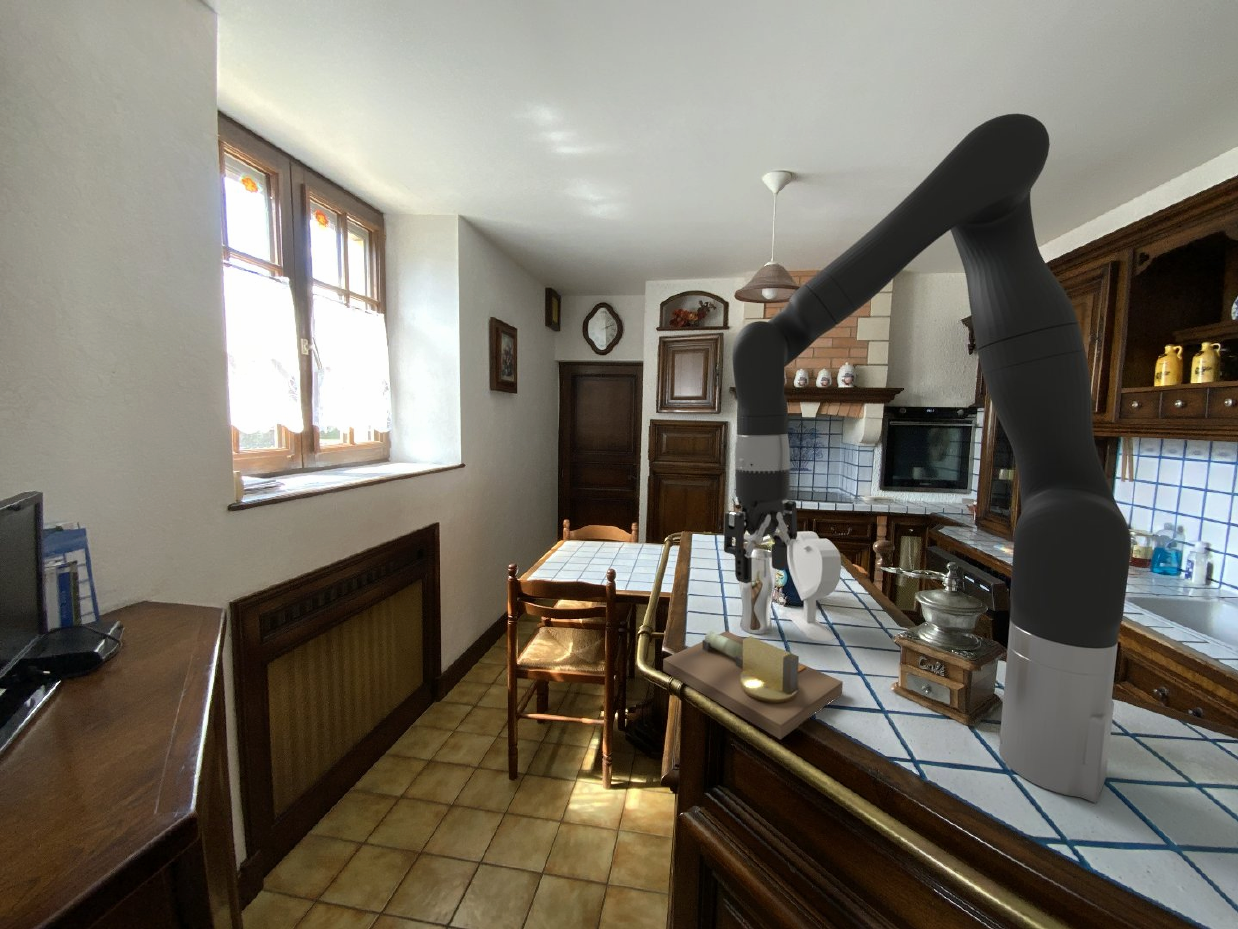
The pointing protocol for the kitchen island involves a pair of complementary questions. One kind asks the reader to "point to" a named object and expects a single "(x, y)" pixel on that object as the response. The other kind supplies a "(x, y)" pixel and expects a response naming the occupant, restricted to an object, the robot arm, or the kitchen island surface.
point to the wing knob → (768, 672)
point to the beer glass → (758, 594)
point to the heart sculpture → (812, 579)
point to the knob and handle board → (719, 678)
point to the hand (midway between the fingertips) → (762, 575)
